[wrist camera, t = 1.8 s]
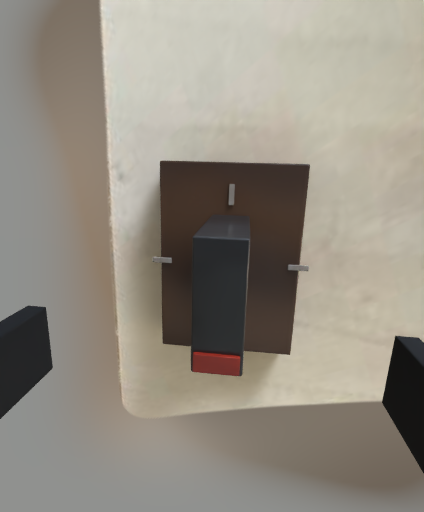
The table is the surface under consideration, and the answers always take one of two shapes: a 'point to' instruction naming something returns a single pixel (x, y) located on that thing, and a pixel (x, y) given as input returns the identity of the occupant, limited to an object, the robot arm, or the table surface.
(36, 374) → the robot arm
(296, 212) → the lever panel
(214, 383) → the table surface
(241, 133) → the table surface
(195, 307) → the dark grey upright block
